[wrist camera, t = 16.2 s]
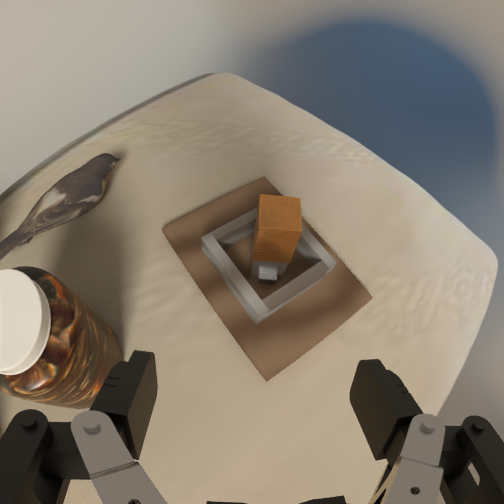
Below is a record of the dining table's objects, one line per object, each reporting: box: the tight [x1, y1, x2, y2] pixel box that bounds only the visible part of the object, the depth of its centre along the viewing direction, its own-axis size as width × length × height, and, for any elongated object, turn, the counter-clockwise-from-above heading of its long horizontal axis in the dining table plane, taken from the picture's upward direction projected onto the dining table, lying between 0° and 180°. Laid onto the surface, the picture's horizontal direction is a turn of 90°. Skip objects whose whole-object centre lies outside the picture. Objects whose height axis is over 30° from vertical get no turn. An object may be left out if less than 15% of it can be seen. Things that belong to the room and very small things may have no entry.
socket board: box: [162, 177, 373, 382], centre depth 36 cm, size 22×16×4 cm
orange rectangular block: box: [251, 194, 302, 284], centre depth 33 cm, size 5×4×10 cm
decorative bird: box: [0, 153, 120, 260], centre depth 36 cm, size 6×25×5 cm, turn 143°
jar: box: [0, 266, 123, 409], centre depth 24 cm, size 12×12×15 cm
